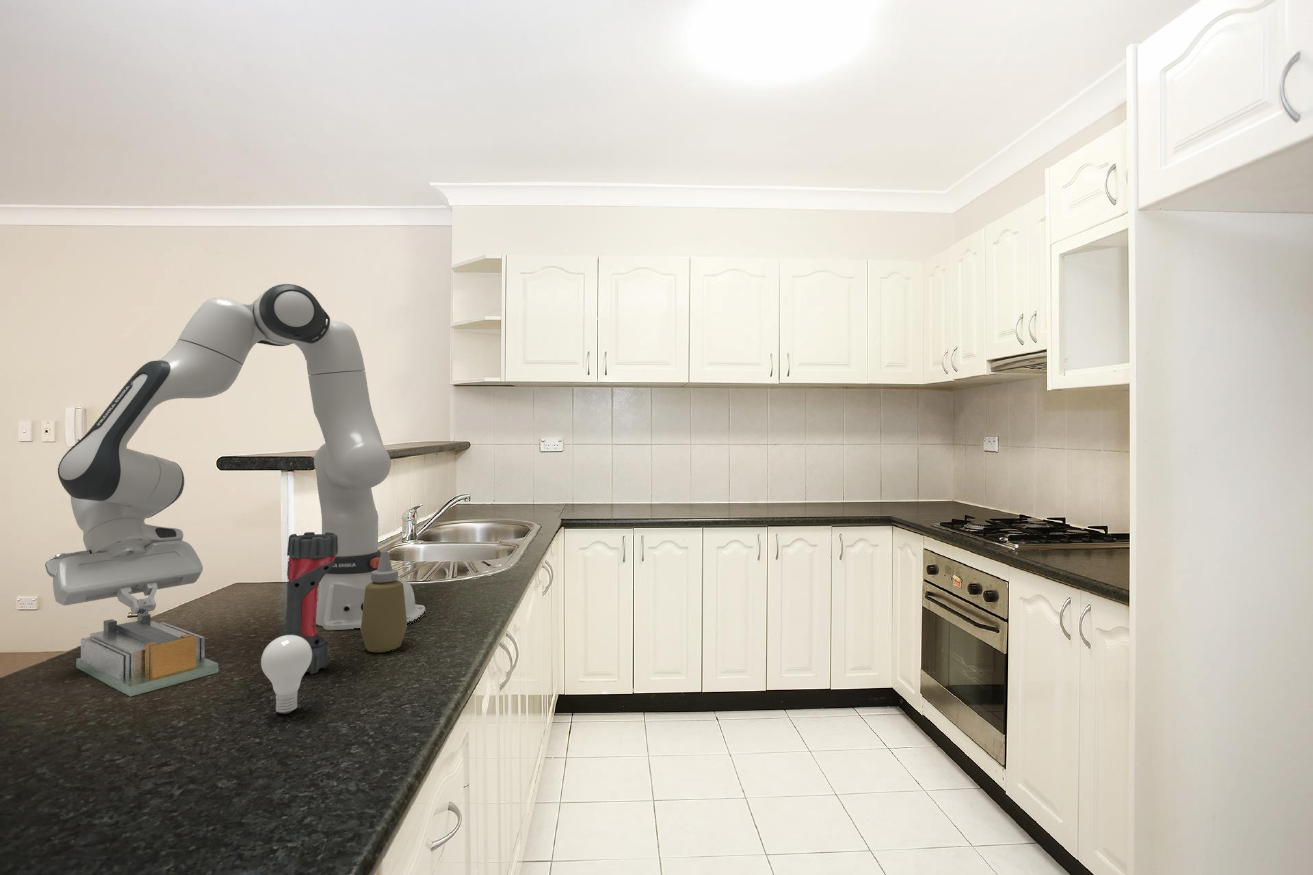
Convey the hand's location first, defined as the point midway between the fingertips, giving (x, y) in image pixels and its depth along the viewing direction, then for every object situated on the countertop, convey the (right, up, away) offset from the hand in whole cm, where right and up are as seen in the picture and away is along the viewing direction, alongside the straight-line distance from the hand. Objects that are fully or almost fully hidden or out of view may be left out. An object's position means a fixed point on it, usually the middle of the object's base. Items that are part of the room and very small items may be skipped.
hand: (144, 610), depth 109 cm
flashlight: (+28, -10, 0) cm, 30 cm away
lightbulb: (+34, -10, -17) cm, 39 cm away
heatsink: (+1, -10, -1) cm, 10 cm away
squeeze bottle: (+36, -10, +11) cm, 39 cm away
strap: (+1, -4, -1) cm, 5 cm away
